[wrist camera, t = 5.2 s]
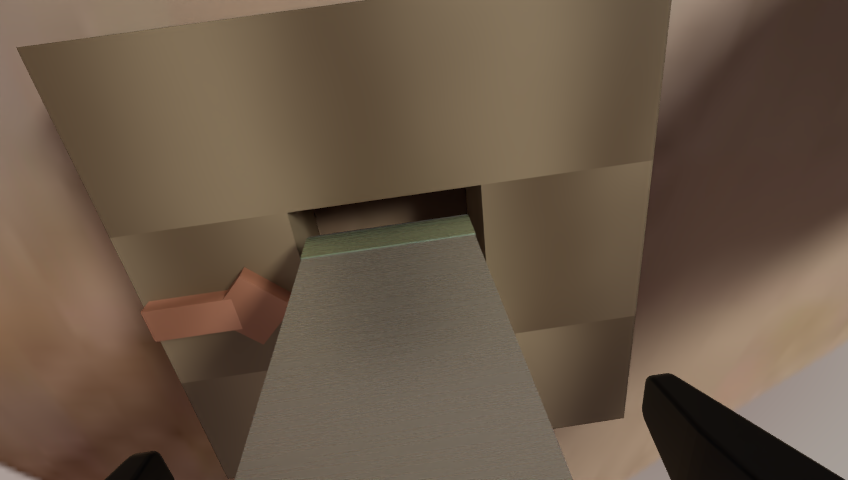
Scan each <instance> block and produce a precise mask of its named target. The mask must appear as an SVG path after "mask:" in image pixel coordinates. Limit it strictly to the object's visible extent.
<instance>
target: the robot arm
mask: <svg viewBox="0 0 848 480" xmlns="http://www.w3.org/2000/svg"><path fill="white" fill-rule="evenodd" d="M642 412H643V417H644V420H645V422H646V424H647V427H648V429H649V431H650V434H651V436H652V438H653V440H654V443H655V445H656V447H657V449H658V452H659V454H660V456H661V458H662V461H663V463H664V465H665V467H666V470H667V472H668V474H669V477H670V479H671V480H845V479H843V478H842V477H840V476H838V475H837V474H835V473H833V472H832V471H830V470H829V469H827V468H825V467H824V466H822V465H820V464H819V463H817V462H816V461H814V460H812V459H811V458H809V457H807V456H806V455H804V454H802V453H801V452H799V451H798V450H796V449H794V448H793V447H791V446H789V445H788V444H786V443H784V442H783V441H781V440H780V439H778V438H776V437H775V436H773V435H771V434H770V433H768V432H766V431H765V430H763V429H762V428H760V427H758V426H757V425H755V424H753V423H752V422H750V421H748V420H746V419H745V418H744V417H742V416H740V415H739V414H737V413H735V412H734V411H732V410H731V409H729V408H727V407H726V406H724V405H722V404H721V403H719V402H717V401H716V400H714V399H713V398H711V397H709V396H708V395H706V394H704V393H703V392H701V391H699V390H698V389H696V388H695V387H693V386H691V385H690V384H688V383H686V382H685V381H683V380H681V379H680V378H678V377H677V376H675V375H673V374H670V373H665V374H658V375H651V376H649V377H648V378H647V379H646V382H645V390H644V397H643V404H642ZM105 480H174V477H173V476H172V474H171V472H170V470H169V469H168V467H167V465H166V463H165V462H164V460H163V458H162V456H161V455H160V454H159V453H158V452H156V451H150V452H144V453H137V454H134V455H132V456H130V457H129V458H128V459H126V460H125V461H124V462H123V463H122V464H121V465H120V466H119V467H118V468H117V469H116V470H115V471H114V472H112V473H111V474H110V475H109V476H108V477H107V478H106V479H105Z"/></svg>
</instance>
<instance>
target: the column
mask: <svg viewBox="0 0 848 480" xmlns="http://www.w3.org/2000/svg"><path fill="white" fill-rule="evenodd" d="M235 480H573V479H572V476H571V474H570V471H569V469H568V466H567V464H566V461H565V459H564V456H563V454H562V451H561V449H560V446H559V444H558V441H557V439H556V436H555V434H554V431H553V429H552V426H551V424H550V421H549V419H548V416H547V414H546V411H545V409H544V406H543V404H542V401H541V399H540V396H539V394H538V391H537V389H536V386H535V384H534V381H533V379H532V376H531V374H530V371H529V369H528V366H527V364H526V361H525V359H524V356H523V354H522V351H521V349H520V346H519V344H518V341H517V339H516V336H515V334H514V331H513V329H512V326H511V324H510V321H509V318H508V316H507V313H506V311H505V308H504V306H503V303H502V301H501V298H500V296H499V293H498V291H497V288H496V286H495V283H494V281H493V278H492V276H491V273H490V271H489V268H488V266H487V263H486V261H485V258H484V256H483V253H482V251H481V248H480V246H479V243H478V241H477V238H476V234H475V231H474V228H473V226H472V223H471V221H470V218H469V216H468V215H467V214H464V215H458V216H451V217H444V218H437V219H430V220H423V221H416V222H409V223H402V224H395V225H388V226H381V227H374V228H367V229H360V230H353V231H347V232H340V233H333V234H326V235H319V236H312V237H308V238H306V242H305V245H304V248H303V251H302V255H301V262H300V266H299V269H298V272H297V275H296V279H295V282H294V285H293V289H292V292H291V295H290V299H289V302H288V305H287V308H286V312H285V315H284V318H283V322H282V325H281V328H280V332H279V335H278V338H277V341H276V345H275V348H274V351H273V355H272V358H271V361H270V365H269V368H268V371H267V375H266V378H265V381H264V384H263V388H262V391H261V394H260V398H259V401H258V404H257V408H256V411H255V414H254V417H253V421H252V424H251V427H250V431H249V434H248V437H247V441H246V444H245V447H244V451H243V454H242V457H241V460H240V464H239V467H238V470H237V474H236V477H235Z"/></svg>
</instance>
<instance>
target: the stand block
mask: <svg viewBox="0 0 848 480" xmlns="http://www.w3.org/2000/svg"><path fill="white" fill-rule="evenodd" d="M671 1H672V0H365V1H357V2H350V3H342V4H335V5H328V6H320V7H313V8H306V9H298V10H291V11H283V12H276V13H269V14H261V15H254V16H246V17H239V18H232V19H224V20H217V21H209V22H202V23H195V24H187V25H180V26H172V27H165V28H158V29H150V30H143V31H135V32H128V33H121V34H113V35H106V36H99V37H91V38H84V39H76V40H69V41H62V42H54V43H47V44H40V45H32V46H25V47H18V48H17V50H18V52H19V54H20V56H21V58H22V60H23V62H24V64H25V66H26V68H27V70H28V72H29V75H30V77H31V79H32V81H33V83H34V85H35V87H36V89H37V91H38V93H39V95H40V97H41V99H42V101H43V103H44V105H45V107H46V109H47V111H48V113H49V115H50V117H51V119H52V121H53V123H54V125H55V127H56V130H57V132H58V134H59V136H60V138H61V140H62V142H63V144H64V146H65V148H66V150H67V152H68V154H69V156H70V158H71V160H72V162H73V164H74V166H75V168H76V170H77V172H78V174H79V176H80V178H81V180H82V182H83V185H84V187H85V189H86V191H87V193H88V195H89V197H90V199H91V201H92V203H93V205H94V207H95V209H96V211H97V213H98V215H99V217H100V219H101V221H102V223H103V225H104V227H105V229H106V231H107V233H108V235H109V238H110V240H111V242H112V244H113V246H114V248H115V250H116V252H117V254H118V256H119V258H120V260H121V262H122V264H123V266H124V268H125V270H126V272H127V274H128V276H129V278H130V280H131V282H132V284H133V286H134V288H135V290H136V293H137V295H138V297H139V299H140V301H141V303H142V305H143V307H144V308H143V310H142V311H141V312H140V313H141V315H142V317H143V319H144V321H145V323H146V325H147V327H148V329H149V331H150V333H151V335H152V337H153V339H154V341H155V342H158V341H161V343H162V345H163V348H164V350H165V352H166V354H167V356H168V358H169V360H170V362H171V364H172V366H173V368H174V370H175V372H176V374H177V376H178V378H179V380H180V382H181V384H182V386H183V388H184V390H185V392H186V394H187V396H188V398H189V400H190V403H191V405H192V407H193V409H194V411H195V413H196V415H197V417H198V419H199V421H200V423H201V425H202V427H203V429H204V431H205V433H206V435H207V437H208V439H209V441H210V443H211V445H212V447H213V449H214V451H215V453H216V455H217V458H218V460H219V462H220V464H221V466H222V468H223V470H224V472H225V474H226V476H227V478H235V477H236V474H237V470H238V467H239V464H240V460H241V457H242V454H243V451H244V447H245V444H246V441H247V437H248V434H249V431H250V427H251V424H252V421H253V417H254V414H255V411H256V408H257V404H258V401H259V398H260V394H261V391H262V388H263V384H264V381H265V378H266V375H267V371H268V368H269V365H270V361H271V358H272V355H273V351H274V348H275V345H276V341H277V338H278V335H279V332H280V328H281V325H282V322H283V318H284V315H285V312H286V308H287V305H288V302H289V299H290V295H291V292H292V289H293V285H294V282H295V279H296V275H297V272H298V269H299V266H300V262H301V255H302V251H303V248H304V245H305V242H306V238H308V237H312V236H319V231H318V227H317V223H316V219H315V215H314V211H313V209H316V208H323V207H330V206H337V205H344V204H351V203H358V202H365V201H372V200H379V199H386V198H393V197H400V196H407V195H414V194H421V193H428V192H435V191H442V190H449V189H456V188H463V187H466V196H467V208H468V216H469V218H470V221H471V223H472V226H473V228H474V231H475V234H476V238H477V241H478V243H479V246H480V248H481V251H482V253H483V256H484V258H485V261H486V263H487V266H488V268H489V271H490V273H491V276H492V278H493V281H494V283H495V286H496V288H497V291H498V293H499V296H500V298H501V301H502V303H503V306H504V308H505V311H506V313H507V316H508V318H509V321H510V324H511V326H512V329H513V331H514V334H515V336H516V339H517V341H518V344H519V346H520V349H521V351H522V354H523V356H524V359H525V361H526V364H527V366H528V369H529V371H530V374H531V376H532V379H533V381H534V384H535V386H536V389H537V391H538V394H539V396H540V399H541V401H542V404H543V406H544V409H545V411H546V414H547V416H548V419H549V421H550V424H551V426H552V429H555V428H562V427H568V426H575V425H581V424H588V423H594V422H601V421H607V420H614V419H620V418H624V411H625V402H626V394H627V385H628V376H629V367H630V359H631V350H632V341H633V332H634V324H635V315H636V306H637V297H638V289H639V280H640V271H641V263H642V254H643V245H644V236H645V228H646V219H647V210H648V201H649V193H650V184H651V175H652V167H653V158H654V149H655V140H656V132H657V123H658V114H659V105H660V97H661V88H662V79H663V70H664V62H665V53H666V44H667V36H668V27H669V18H670V9H671Z"/></svg>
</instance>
